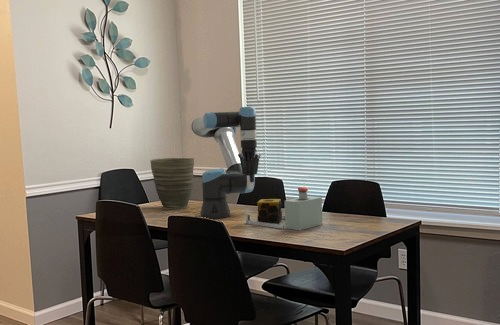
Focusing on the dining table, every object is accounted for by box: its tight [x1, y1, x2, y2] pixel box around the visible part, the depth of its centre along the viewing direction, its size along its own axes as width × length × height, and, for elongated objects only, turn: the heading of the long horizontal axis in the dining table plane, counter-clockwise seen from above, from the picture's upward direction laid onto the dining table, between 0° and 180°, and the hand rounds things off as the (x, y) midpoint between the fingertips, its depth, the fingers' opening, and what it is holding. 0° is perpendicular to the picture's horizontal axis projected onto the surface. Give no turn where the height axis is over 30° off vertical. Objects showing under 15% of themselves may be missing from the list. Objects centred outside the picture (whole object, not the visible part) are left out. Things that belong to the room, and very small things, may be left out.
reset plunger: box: [297, 186, 309, 200], centre depth 247 cm, size 4×4×8 cm
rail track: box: [245, 214, 286, 230], centre depth 258 cm, size 22×19×4 cm
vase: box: [150, 157, 195, 211], centre depth 314 cm, size 25×24×30 cm
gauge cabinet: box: [284, 195, 323, 231], centre depth 248 cm, size 9×16×12 cm, turn 136°
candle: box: [256, 198, 283, 224], centre depth 261 cm, size 10×10×10 cm
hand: (250, 188), depth 269 cm, fingers closed
